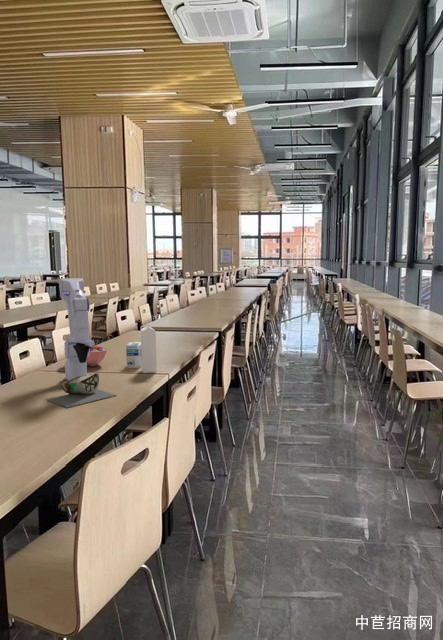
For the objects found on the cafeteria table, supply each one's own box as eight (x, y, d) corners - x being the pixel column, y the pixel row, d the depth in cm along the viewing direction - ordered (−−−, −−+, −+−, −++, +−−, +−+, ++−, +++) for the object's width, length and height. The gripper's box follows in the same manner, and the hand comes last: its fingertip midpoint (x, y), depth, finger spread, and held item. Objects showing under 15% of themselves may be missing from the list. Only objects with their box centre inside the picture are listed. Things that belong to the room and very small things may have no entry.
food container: (62, 401, 182) (84, 398, 178) (58, 385, 181) (79, 382, 177) (82, 390, 193) (103, 387, 189) (78, 375, 192) (99, 372, 189)
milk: (143, 373, 219) (141, 324, 216) (141, 370, 225) (140, 322, 222) (157, 372, 221) (155, 323, 218) (154, 369, 226) (153, 321, 224)
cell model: (96, 371, 223) (95, 346, 222) (58, 368, 229) (56, 344, 228) (114, 363, 239) (113, 340, 238) (78, 361, 245) (77, 339, 244)
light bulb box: (140, 368, 229) (140, 345, 228) (126, 368, 229) (125, 345, 228) (144, 363, 240) (143, 341, 238) (130, 363, 240) (130, 341, 238)
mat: (47, 400, 177) (47, 399, 177) (95, 389, 192) (95, 388, 192) (67, 408, 168) (67, 407, 168) (116, 396, 182) (116, 394, 182)
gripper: (62, 327, 193) (63, 361, 194) (82, 331, 183) (83, 366, 185) (78, 325, 198) (79, 358, 200) (98, 329, 188) (99, 363, 190)
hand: (82, 362), depth 192 cm, fingers closed
